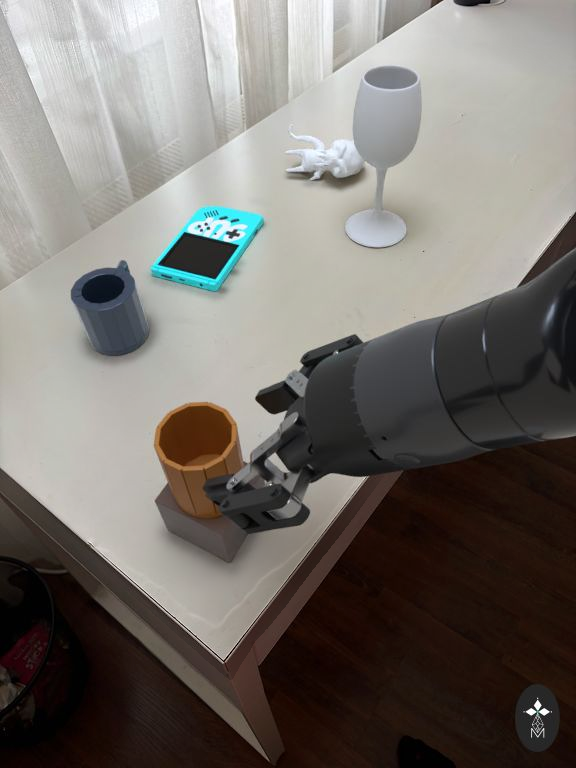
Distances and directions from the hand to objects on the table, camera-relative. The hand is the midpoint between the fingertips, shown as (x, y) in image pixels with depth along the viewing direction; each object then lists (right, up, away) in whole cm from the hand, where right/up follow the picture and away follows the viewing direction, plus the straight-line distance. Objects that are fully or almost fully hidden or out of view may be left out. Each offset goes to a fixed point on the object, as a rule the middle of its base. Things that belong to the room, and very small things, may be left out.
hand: (239, 446), depth 44 cm
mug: (-17, +12, +29) cm, 36 cm away
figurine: (+9, +38, +49) cm, 63 cm away
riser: (-3, -8, +13) cm, 15 cm away
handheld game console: (-7, +24, +38) cm, 46 cm away
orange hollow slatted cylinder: (-3, -4, +8) cm, 10 cm away
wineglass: (+16, +27, +40) cm, 51 cm away
